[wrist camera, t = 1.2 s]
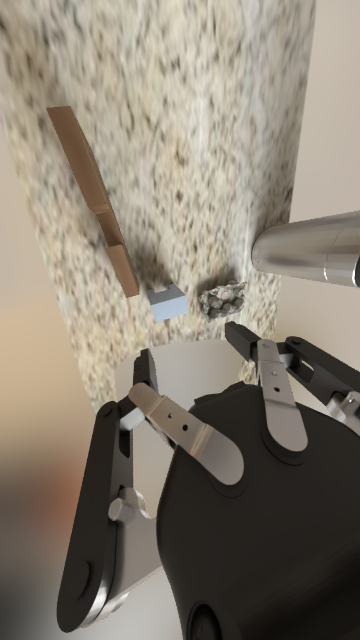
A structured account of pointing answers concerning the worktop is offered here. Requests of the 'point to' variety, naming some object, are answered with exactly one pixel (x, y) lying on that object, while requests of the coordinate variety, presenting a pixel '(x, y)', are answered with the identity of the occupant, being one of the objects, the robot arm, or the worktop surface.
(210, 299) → the egg carton
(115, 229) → the slotted plate
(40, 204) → the worktop surface
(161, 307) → the notched block
